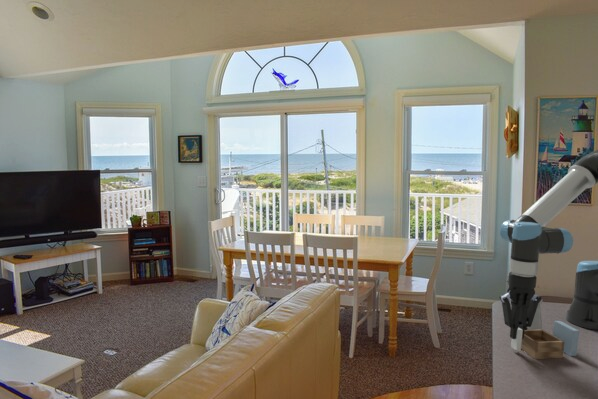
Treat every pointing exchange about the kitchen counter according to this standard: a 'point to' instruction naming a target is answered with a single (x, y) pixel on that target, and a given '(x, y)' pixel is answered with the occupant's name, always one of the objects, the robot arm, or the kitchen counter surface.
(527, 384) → the kitchen counter surface
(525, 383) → the kitchen counter surface
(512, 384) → the kitchen counter surface
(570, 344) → the pale blue lid slab
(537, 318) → the salt shaker
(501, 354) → the kitchen counter surface
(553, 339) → the open wooden crate
